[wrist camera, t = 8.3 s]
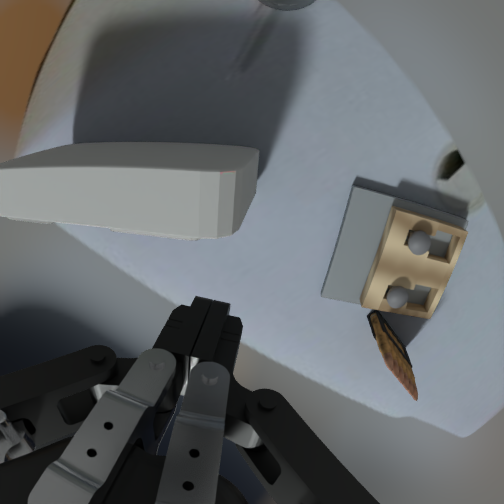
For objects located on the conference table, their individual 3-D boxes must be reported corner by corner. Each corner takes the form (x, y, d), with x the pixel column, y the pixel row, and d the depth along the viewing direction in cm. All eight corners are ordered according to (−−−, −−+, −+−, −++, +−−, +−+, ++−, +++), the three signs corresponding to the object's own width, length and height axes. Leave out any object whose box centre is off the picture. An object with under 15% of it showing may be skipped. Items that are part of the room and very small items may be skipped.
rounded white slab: (73, 191, 43) (-10, 234, 27) (71, 143, 40) (-19, 169, 24) (256, 206, 41) (231, 270, 25) (261, 147, 38) (237, 172, 21)
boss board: (352, 184, 38) (359, 193, 34) (464, 218, 37) (480, 230, 33) (320, 292, 45) (322, 311, 41) (425, 312, 44) (435, 330, 40)
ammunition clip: (405, 347, 47) (424, 400, 37) (396, 353, 48) (413, 406, 37) (376, 309, 45) (395, 363, 34) (366, 315, 46) (382, 370, 35)
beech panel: (391, 205, 37) (396, 210, 35) (461, 226, 37) (468, 232, 35) (359, 299, 43) (361, 307, 41) (425, 311, 42) (430, 319, 41)
